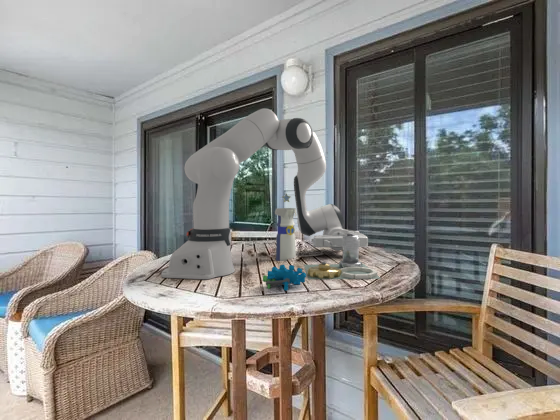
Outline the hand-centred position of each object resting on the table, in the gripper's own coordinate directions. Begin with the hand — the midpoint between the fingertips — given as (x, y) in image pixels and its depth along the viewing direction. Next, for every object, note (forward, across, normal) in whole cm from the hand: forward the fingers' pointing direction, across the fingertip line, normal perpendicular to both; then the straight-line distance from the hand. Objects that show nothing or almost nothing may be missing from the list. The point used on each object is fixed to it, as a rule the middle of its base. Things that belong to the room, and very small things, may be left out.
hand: (343, 244), depth 117 cm
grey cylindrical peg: (+12, 0, +6) cm, 13 cm away
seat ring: (+22, 0, +6) cm, 22 cm away
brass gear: (+22, -10, +6) cm, 24 cm away
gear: (+34, -21, +7) cm, 40 cm away
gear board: (+17, -5, +7) cm, 19 cm away
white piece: (-7, -20, +7) cm, 22 cm away
